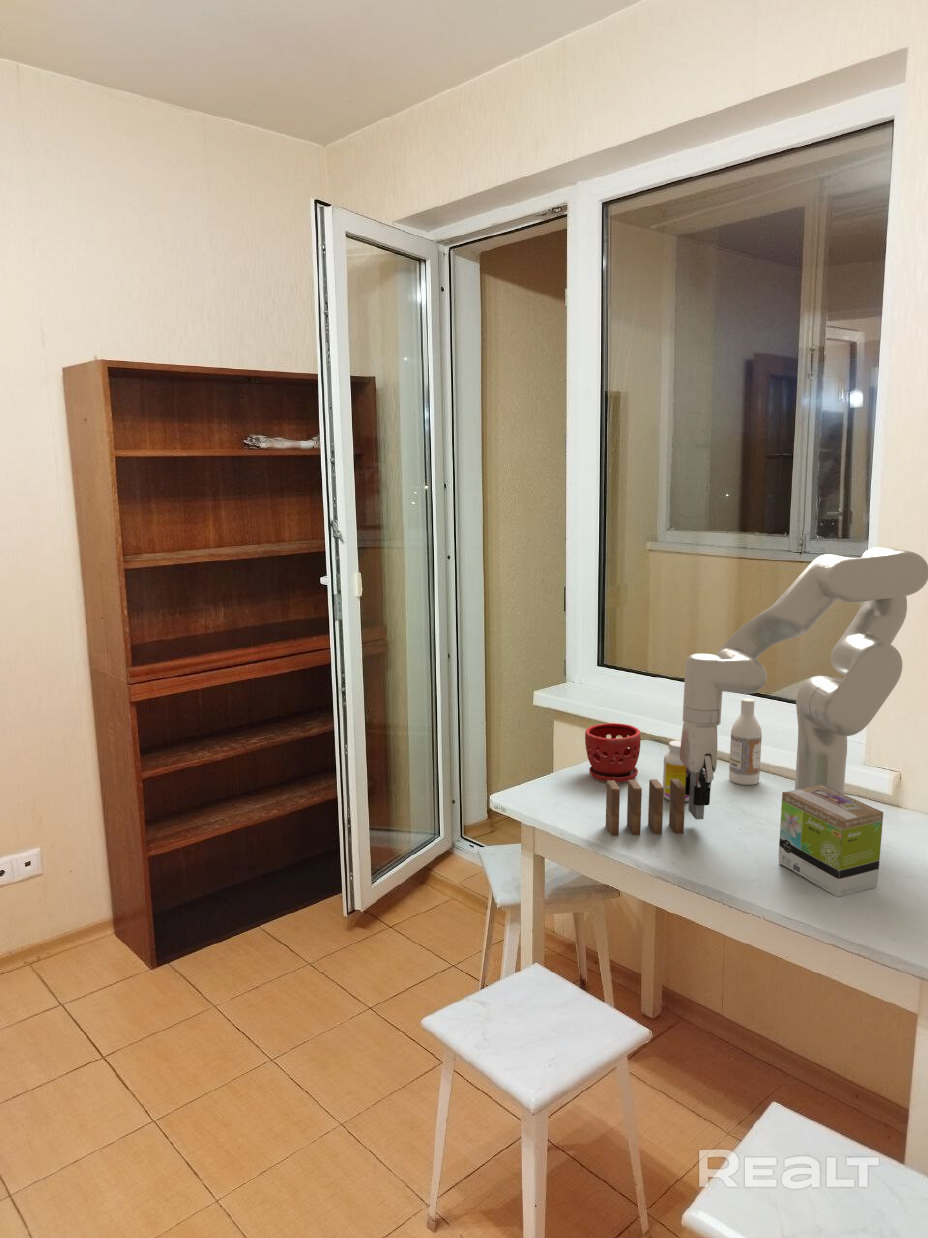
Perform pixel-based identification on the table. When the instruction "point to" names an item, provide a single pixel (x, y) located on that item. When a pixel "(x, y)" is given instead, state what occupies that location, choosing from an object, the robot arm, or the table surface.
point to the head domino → (693, 809)
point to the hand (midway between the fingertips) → (697, 798)
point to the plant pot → (613, 751)
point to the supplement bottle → (673, 768)
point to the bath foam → (745, 746)
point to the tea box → (830, 839)
